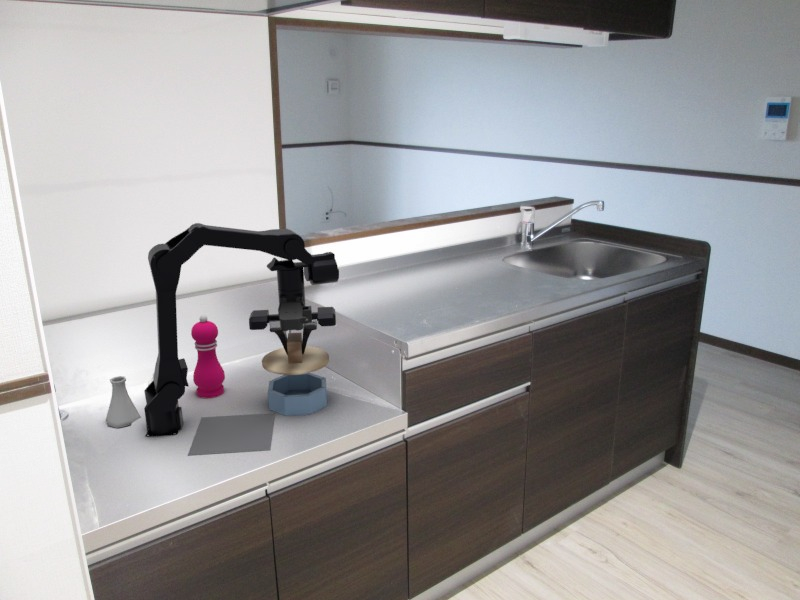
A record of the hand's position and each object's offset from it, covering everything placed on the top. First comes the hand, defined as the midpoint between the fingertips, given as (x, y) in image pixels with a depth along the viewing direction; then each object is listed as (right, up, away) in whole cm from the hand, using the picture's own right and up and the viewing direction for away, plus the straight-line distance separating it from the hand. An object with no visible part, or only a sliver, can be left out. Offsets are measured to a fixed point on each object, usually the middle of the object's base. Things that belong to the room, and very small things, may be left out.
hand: (295, 354), depth 144 cm
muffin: (-33, -11, +8) cm, 35 cm away
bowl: (0, -12, +4) cm, 13 cm away
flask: (-37, -15, -3) cm, 40 cm away
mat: (-11, -16, -10) cm, 22 cm away
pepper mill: (-22, -11, +9) cm, 26 cm away
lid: (0, -2, +1) cm, 2 cm away
